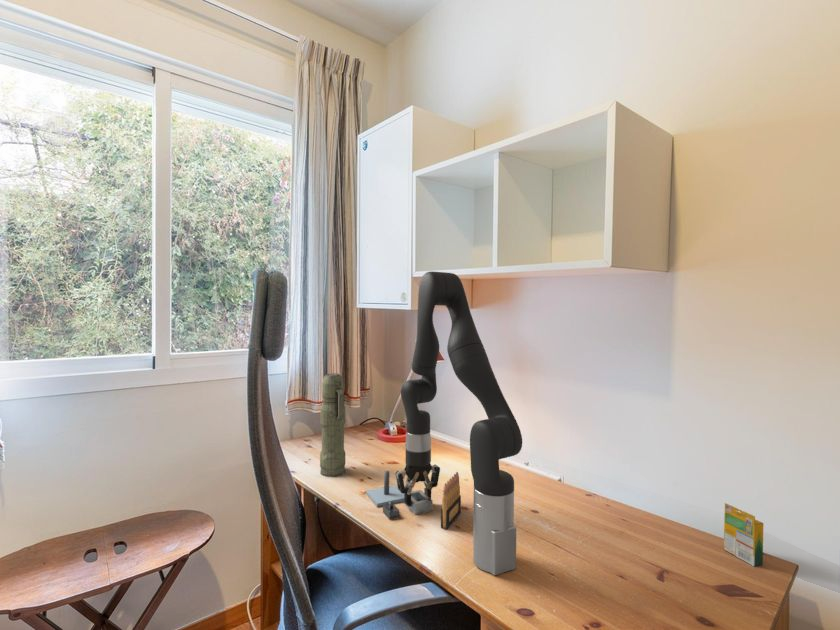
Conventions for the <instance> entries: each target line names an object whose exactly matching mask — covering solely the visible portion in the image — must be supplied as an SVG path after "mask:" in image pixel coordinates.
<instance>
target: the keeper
mask: <svg viewBox="0 0 840 630" xmlns="http://www.w3.org/2000/svg"><path fill="white" fill-rule="evenodd" d="M383 472H384V473H383V487H378V488H373V489H368V490H365V495H366V496H367V497H368V498H369V499H370V501H371V502H372V503H373V504H374V505H375V506H376V508H380V507H383V505H385V504H389V501H393V504H394V505H395V504H398V503H402V502H403V503H404V494H402V493H401V492H400V491H399V490H398V485H396V484H394V485H393V484H392V485H390V470H384V471H383Z"/></svg>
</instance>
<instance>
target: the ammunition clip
mask: <svg viewBox="0 0 840 630" xmlns="http://www.w3.org/2000/svg"><path fill="white" fill-rule="evenodd" d="M442 492H443V493H442V502H441V503H442V505H441V507H442V508H441V509H440V511H441V512H440V529H444V530H448V529H450V527H451V526H452V525H453V524H454V522H455V521H456V519H457V518H458V517H459V516H460V515H461V513H462V500H461V499H462V496H461V486H460V475H459V472H458V471H456V472H455V474H453V476H451V478H449V479H448V480H447V481H446V482H445V483H444V485H443V491H442Z"/></svg>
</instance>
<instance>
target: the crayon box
mask: <svg viewBox="0 0 840 630" xmlns="http://www.w3.org/2000/svg"><path fill="white" fill-rule="evenodd" d="M723 523H724V525H723V526H724V528H723V550H724V551H726V552H728V553H729V554H731V555H732V556H735V557H737V558H738V559H740V560H742V561H744V562H745V563H747V564H749V565H750V566H752V567H757V566H762V565H763V564H764V562H763V559H764V557H763V556H764V523H763V522H762V521H761V520H760V521H759V520H757V519H756V516H755V515H753V514H750V513H748V512H747V511H743V510H742V509H739V508H737V507H735V506H733V505H730V504H728V503H726V502H725V503H724V522H723Z"/></svg>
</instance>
